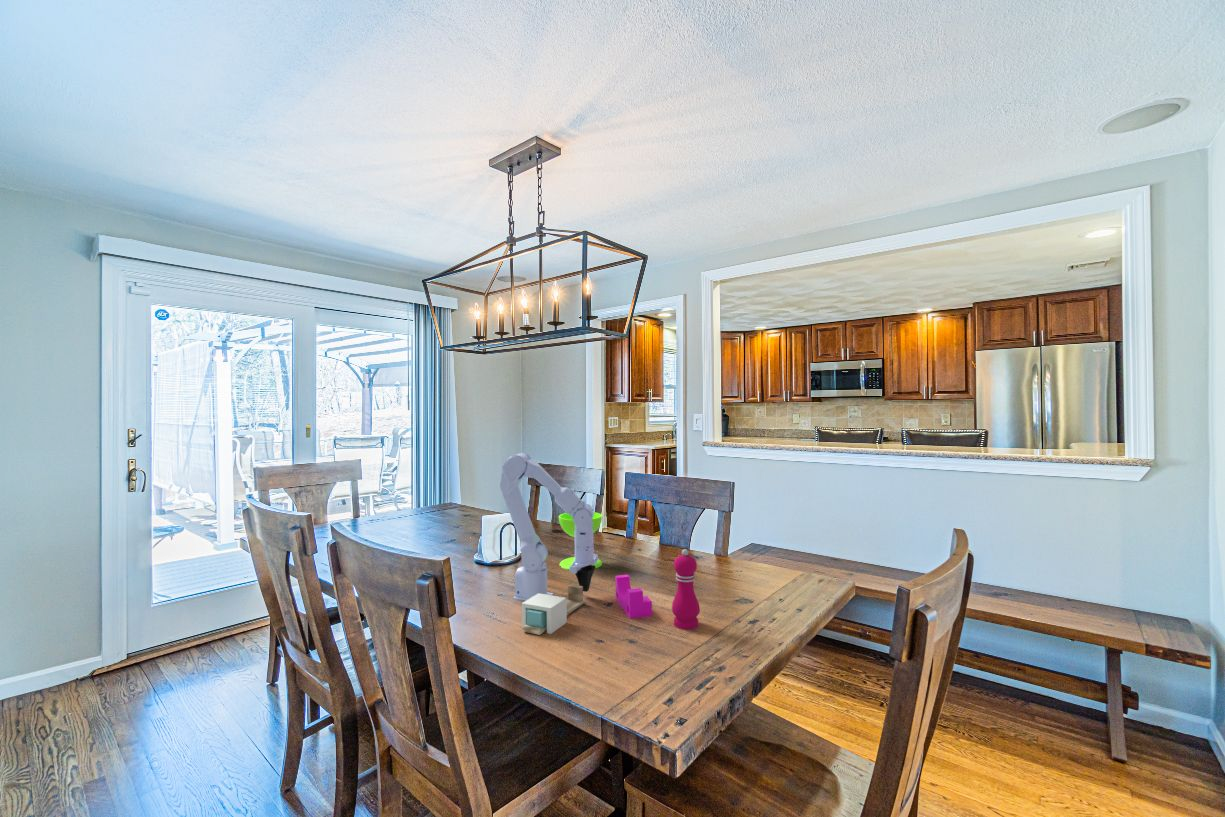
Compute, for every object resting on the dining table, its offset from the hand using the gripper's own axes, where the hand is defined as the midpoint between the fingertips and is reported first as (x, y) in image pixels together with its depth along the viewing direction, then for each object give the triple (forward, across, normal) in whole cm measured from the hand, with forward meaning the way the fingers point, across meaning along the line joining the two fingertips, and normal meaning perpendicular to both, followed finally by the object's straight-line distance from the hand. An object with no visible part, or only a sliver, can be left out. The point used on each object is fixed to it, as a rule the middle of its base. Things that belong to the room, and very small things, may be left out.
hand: (584, 590), depth 159 cm
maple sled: (+2, -22, 0) cm, 23 cm away
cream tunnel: (+2, -22, 0) cm, 23 cm away
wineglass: (+2, +30, +17) cm, 34 cm away
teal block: (+1, -26, 0) cm, 26 cm away
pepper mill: (+2, -8, -34) cm, 35 cm away
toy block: (+3, -2, -17) cm, 17 cm away
